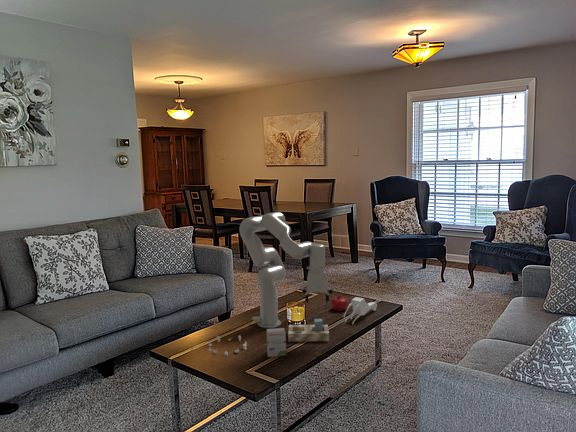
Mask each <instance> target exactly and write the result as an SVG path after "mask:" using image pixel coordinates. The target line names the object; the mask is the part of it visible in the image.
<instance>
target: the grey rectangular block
mask: <svg viewBox="0 0 576 432" xmlns="http://www.w3.org/2000/svg"><path fill="white" fill-rule="evenodd" d="M313 321H314V324H313V325H314V331H323V325H324V322H323V318H314V320H313Z"/></svg>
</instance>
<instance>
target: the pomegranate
mask: <svg viewBox="0 0 576 432" xmlns="http://www.w3.org/2000/svg"><path fill="white" fill-rule="evenodd" d="M348 302H349V301H348V300H347V299H346V297H344V296H342V295H341V296H340V294H337V296H333V299H331V303H330V306H331V308H332V310H333V311H335V312H342V311H346V310H347V308H348V306H349V303H348Z"/></svg>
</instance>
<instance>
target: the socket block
mask: <svg viewBox="0 0 576 432" xmlns="http://www.w3.org/2000/svg"><path fill="white" fill-rule="evenodd" d="M287 337H288V338H287V339H288V341H287V342H330V330H329V325H328V324H323V331H314V324H289V325H288V334H287Z"/></svg>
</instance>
